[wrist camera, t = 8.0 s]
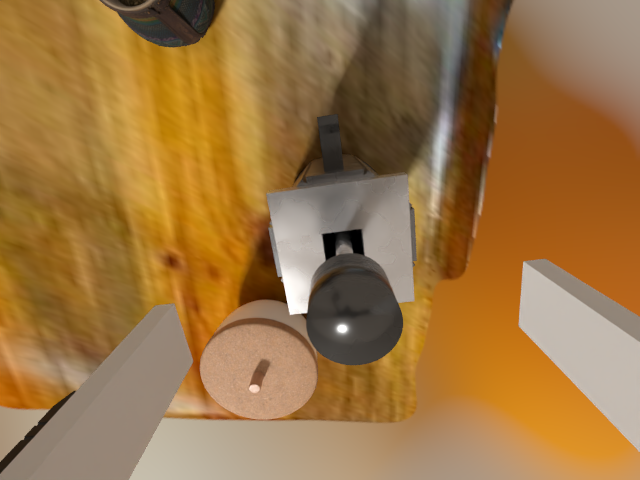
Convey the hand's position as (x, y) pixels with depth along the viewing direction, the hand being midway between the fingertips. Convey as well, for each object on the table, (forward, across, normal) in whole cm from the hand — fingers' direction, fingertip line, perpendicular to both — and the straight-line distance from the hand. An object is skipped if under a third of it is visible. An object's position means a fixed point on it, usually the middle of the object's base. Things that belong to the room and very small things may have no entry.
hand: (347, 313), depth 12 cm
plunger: (+18, 0, 0) cm, 18 cm away
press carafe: (+21, 0, +1) cm, 21 cm away
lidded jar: (+21, -9, -14) cm, 26 cm away
